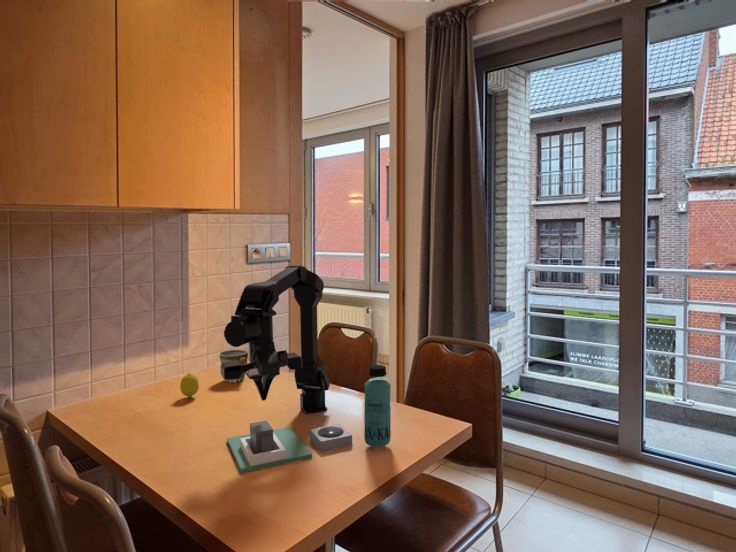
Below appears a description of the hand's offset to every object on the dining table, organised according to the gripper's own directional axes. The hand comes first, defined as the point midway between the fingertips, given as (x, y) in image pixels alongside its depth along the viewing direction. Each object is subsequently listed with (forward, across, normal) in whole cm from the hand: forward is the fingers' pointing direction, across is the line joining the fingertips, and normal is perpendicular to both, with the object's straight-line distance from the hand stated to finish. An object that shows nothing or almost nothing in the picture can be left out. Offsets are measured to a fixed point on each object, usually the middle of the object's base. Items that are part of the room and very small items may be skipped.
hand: (263, 400), depth 114 cm
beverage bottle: (+12, +24, -14) cm, 30 cm away
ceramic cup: (+13, +4, +58) cm, 60 cm away
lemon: (+12, -13, +46) cm, 50 cm away
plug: (+10, -2, -5) cm, 12 cm away
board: (+11, 0, -3) cm, 12 cm away
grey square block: (+12, +15, -6) cm, 20 cm away
